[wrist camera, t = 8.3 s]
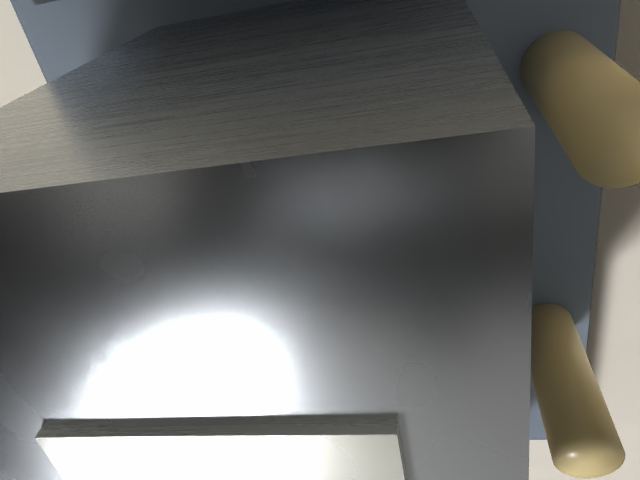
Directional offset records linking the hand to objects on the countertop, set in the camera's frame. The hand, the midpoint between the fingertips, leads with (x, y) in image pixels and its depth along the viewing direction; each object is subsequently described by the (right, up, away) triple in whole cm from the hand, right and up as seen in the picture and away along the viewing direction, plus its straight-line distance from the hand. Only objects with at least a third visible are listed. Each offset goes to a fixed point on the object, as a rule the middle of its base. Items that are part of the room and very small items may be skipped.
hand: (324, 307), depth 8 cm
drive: (0, +1, +2) cm, 2 cm away
